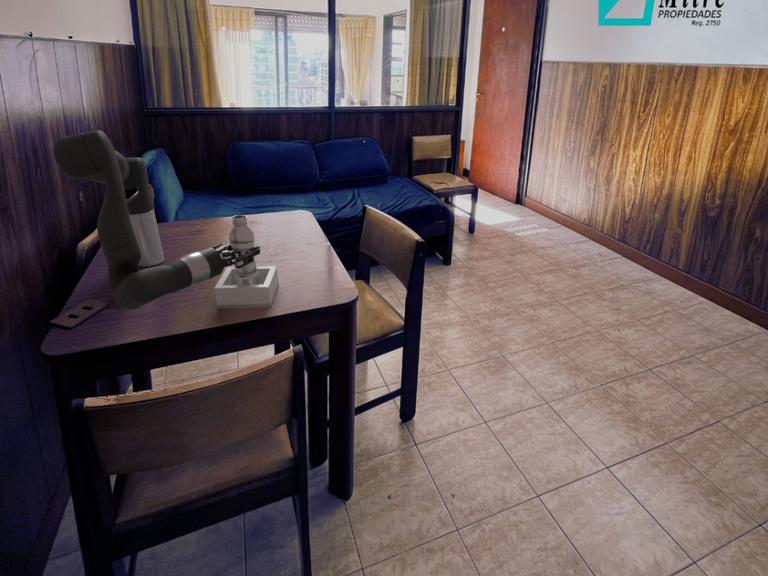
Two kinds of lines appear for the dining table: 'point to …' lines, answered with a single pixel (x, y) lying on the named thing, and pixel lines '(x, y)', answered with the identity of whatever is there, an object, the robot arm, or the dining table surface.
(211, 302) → the dining table surface
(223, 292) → the bin
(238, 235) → the plastic bottle
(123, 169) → the robot arm
